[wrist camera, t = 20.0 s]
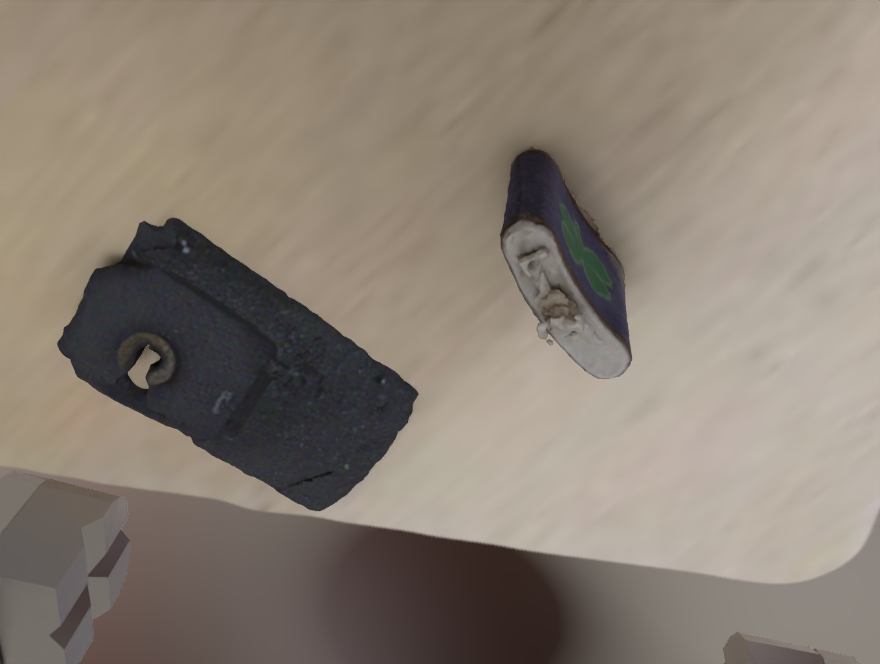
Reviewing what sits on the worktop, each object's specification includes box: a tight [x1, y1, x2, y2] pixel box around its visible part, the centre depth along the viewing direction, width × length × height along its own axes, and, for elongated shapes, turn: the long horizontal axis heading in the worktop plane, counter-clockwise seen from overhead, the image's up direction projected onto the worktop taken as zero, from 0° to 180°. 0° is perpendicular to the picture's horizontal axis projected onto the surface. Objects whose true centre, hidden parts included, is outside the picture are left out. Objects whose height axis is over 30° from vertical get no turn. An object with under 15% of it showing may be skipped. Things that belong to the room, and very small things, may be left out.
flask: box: [500, 146, 632, 379], centre depth 43 cm, size 10×3×12 cm, turn 35°
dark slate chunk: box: [57, 219, 418, 511], centre depth 55 cm, size 15×22×5 cm
